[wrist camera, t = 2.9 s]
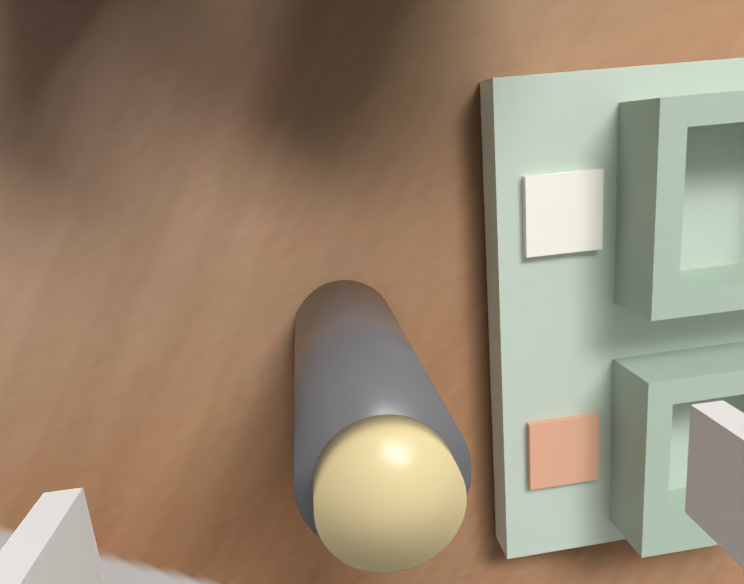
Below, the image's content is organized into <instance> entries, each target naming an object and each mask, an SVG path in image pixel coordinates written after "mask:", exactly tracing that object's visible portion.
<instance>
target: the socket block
mask: <svg viewBox="0 0 744 584" xmlns="http://www.w3.org/2000/svg"><path fill="white" fill-rule="evenodd" d="M480 102H481V130H482V158H483V186H484V214H485V242H486V270H487V298H488V326H489V354H490V382H491V410H492V438H493V466H494V494H495V522H496V538H497V540H498V542H499V544H500V546H501V548H502V550H503V552H504V554H505V555H506V557H507V559H511V558H517V557H523V556H529V555H535V554H541V553H547V552H553V551H559V550H565V549H571V548H577V547H583V546H589V545H595V544H601V543H607V542H613V541H618V540H624V539H626V540H627V541H628V542H629V543H630V545H631V546H632V547H633V548H634V549H635V551H636V552H637V553H638V554H639V555H640V557H641V558H644V557H650V556H656V555H661V554H667V553H673V552H679V551H685V550H691V549H696V548H702V547H708V546H714V545H718V544H717V543H716V542H715V541H714V540H713V539H712V538H711V537H710V536H709V535H708V534H707V533H706V532H705V531H704V530H703V529H702V528H701V527H700V526H699V525H698V524H697V523H696V522H694V521H693V520H692V519H691V518H690V517H689V516H688V515H687V514H686V513H685V498H686V480H687V462H688V445H689V427H690V409H691V405H692V404H700V403H707V402H714V401H722V400H723V401H725V402H727V403H728V404H730V405H731V406H733V407H735V408H736V409H738V410H740V411H741V412H743V413H744V58H733V59H720V60H708V61H695V62H683V63H671V64H658V65H646V66H633V67H621V68H609V69H596V70H584V71H571V72H559V73H547V74H534V75H522V76H509V77H497V78H491V79H488V80H485V81H482V82H480Z"/></svg>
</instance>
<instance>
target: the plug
mask: <svg viewBox="0 0 744 584" xmlns="http://www.w3.org/2000/svg"><path fill="white" fill-rule="evenodd" d="M470 481H471V460H470V454H469V451H468V447H467V445H466V443H465V440H464V438H463V436H462V434H461V433H460V431H459V429H458V427H457V426H456V424H455V422H454V420H453V419H452V417H451V415H450V413H449V412H448V410H447V408H446V406H445V405H444V403H443V401H442V399H441V397H440V396H439V394H438V392H437V390H436V389H435V387H434V385H433V383H432V382H431V380H430V378H429V376H428V375H427V373H426V371H425V369H424V368H423V366H422V364H421V362H420V361H419V359H418V357H417V355H416V354H415V352H414V350H413V348H412V346H411V345H410V343H409V341H408V339H407V338H406V336H405V334H404V332H403V331H402V329H401V327H400V325H399V324H398V322H397V320H396V318H395V317H394V315H393V313H392V311H391V310H390V308H389V306H388V304H387V303H386V301H385V300H384V298H383V297H382V296H381V295H380V294H379V293H378V292H377V291H376V290H374V289H373V288H371V287H369V286H367V285H366V284H363V283H360V282H356V281H349V280H342V281H335V282H331V283H327V284H325V285H323V286H321V287H319V288H317V289H316V290H314V291H313V292H312V293H311V294H310V295H309V296H308V297H307V298H306V299H305V300H304V302H303V303H302V305H301V306H300V308H299V310H298V313H297V316H296V320H295V357H294V491H295V497H296V502H297V505H298V508H299V511H300V513H301V515H302V517H303V519H304V520H305V522H306V523H307V525H308V526H309V527H310V529H311V530H312V531H313V532H314V533H315V534H316V535H317V536H318V537H319V538H321V540H322V542H323V544H324V545H325V546H326V547H327V549H328V550H329V551H330V552H331V553H332V554H333V555H334V556H335V557H336V558H338V559H339V560H341V561H342V562H344V563H346V564H347V565H349V566H351V567H354V568H357V569H359V570H364V571H368V572H375V573H391V572H398V571H403V570H407V569H410V568H413V567H416V566H418V565H420V564H422V563H425V562H426V561H428V560H430V559H431V558H433V557H434V556H436V555H437V554H438V553H439V552H441V551H442V550H443V549H444V548H445V547H446V546H447V545H448V544H449V543H450V541H451V540H452V539H453V538H454V536H455V534H456V533H457V531H458V530H459V528H460V525H461V523H462V521H463V518H464V515H465V510H466V504H467V493H468V490H469V487H470Z"/></svg>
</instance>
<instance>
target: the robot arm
mask: <svg viewBox="0 0 744 584" xmlns="http://www.w3.org/2000/svg"><path fill="white" fill-rule="evenodd" d="M685 513H686V514H687V515H688V516H689V517H690V518H691V519H692V520H693V521H694V522H696V523H697V524H698V525H699V526H700V527H701V528H702V529H703V530H704V531H705V532H706V533H707V534H708V535H709V536H710V537H711V538H712V539H713V540H714V541H715V542H716V543H717V544H718V545H719V546H720V547H722V548H723V549H724V550H725V551H726V552H727V553H728V554H729V555H730V556H731V557H732V558H733V559H734V560H735V561H736V562H737V563H738V564H739V565H740V566H741V567H742V568H743V569H744V413H743V412H741V411H740V410H738V409H736V408H735V407H733V406H731V405H730V404H728V403H727V402H725V401H723V400H722V401H714V402H707V403H700V404H692V405H691V409H690V427H689V445H688V462H687V480H686V498H685ZM0 584H106V582H105V578H104V574H103V569H102V565H101V561H100V557H99V553H98V549H97V544H96V540H95V536H94V532H93V528H92V524H91V520H90V515H89V511H88V507H87V503H86V499H85V495H84V491H83V488H76V489H69V490H61V491H54V492H47V493H43V494H42V496H41V497H40V498H39V500H38V501H37V502H36V504H35V505H34V506H33V508H32V509H31V510H30V512H29V513H28V514H27V516H26V517H25V518H24V520H23V521H22V522H21V524H20V525H19V526H18V528H17V529H16V530H15V532H14V533H13V534H12V536H11V537H10V538H9V540H8V541H7V542H6V544H5V545H4V546H3V548H2V549H1V550H0Z"/></svg>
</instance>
